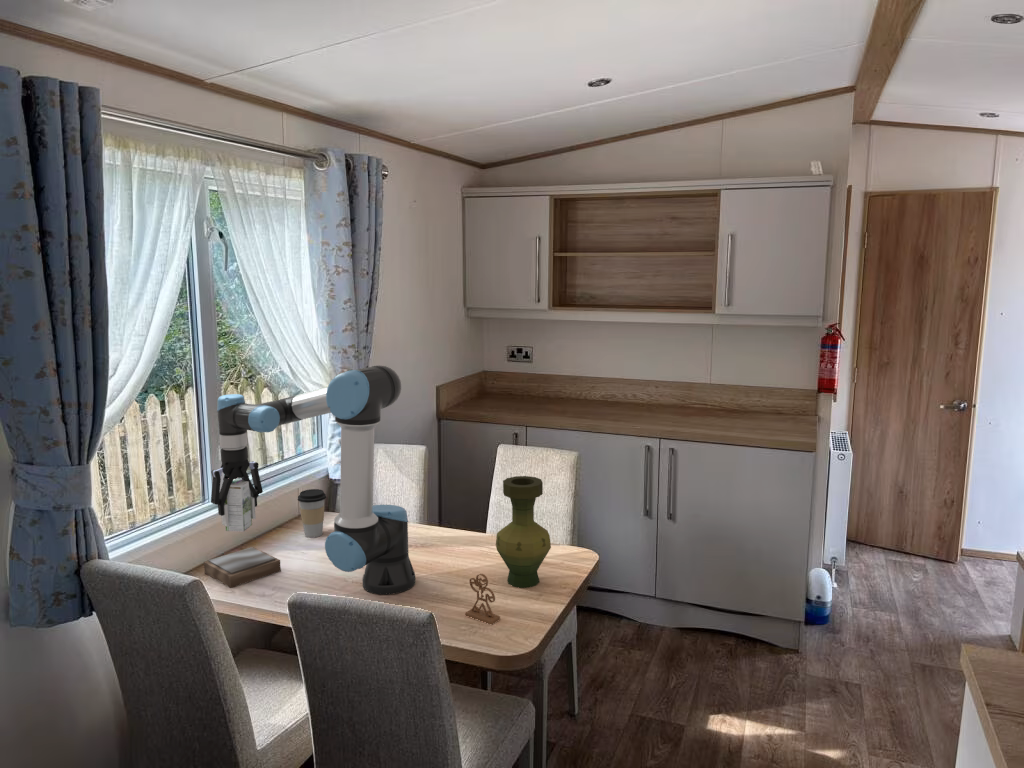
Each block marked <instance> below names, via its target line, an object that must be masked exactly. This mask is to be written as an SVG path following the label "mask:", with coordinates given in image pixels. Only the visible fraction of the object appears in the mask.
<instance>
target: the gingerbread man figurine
mask: <svg viewBox="0 0 1024 768" xmlns="http://www.w3.org/2000/svg"><path fill="white" fill-rule="evenodd" d="M480 576H481V577H480ZM482 577H483V579H482ZM468 583H469V586H470V588H471V589H472V591H474V592H475V593H476V600H475V602H474V605H472V608H470V609H469V610H467V611H465V613H464V614H465V615H466V616H469V617H472V618H474V619H473V620H475V619H478V620H480V621H479V622H481V621H483V622H482V623H484V622H486V623H485V624H487V623H488V624H487V625H490V624H492V625H494V624H495V622H496V621H497V622H499V621H500V620H501V616H500V615H499V614H496V613H493V611H492V607H490V604H489V603H492V604H493V603H494V602H495V601H496V595H495V593H494V592H493V590H492V589H491V588H489V587H488V585H489V579H488V577H487V576H486V575H485V574H484V573H479V574H477V575H476V577H471V578H469V582H468ZM474 585H475V586H476V587H477V588H478V589H476V588H475V587H474ZM486 590H487V591H488V592H489V593H490V594H489V593H485V594H484V592H485V591H486ZM490 595H491V596H490ZM479 601H481V602H482V603H481V604H480V605H479V607H478V606H477V604H478V602H479ZM484 603H485V604H486V607H487V609H488V610H487V609H486V607H485V604H484ZM466 616H465V617H466ZM469 617H468V618H469ZM472 618H471V619H472ZM478 620H477V621H478ZM498 620H499V621H498ZM497 622H496V623H497ZM493 623H494V624H493Z"/></svg>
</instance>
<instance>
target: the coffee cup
mask: <svg viewBox="0 0 1024 768" xmlns="http://www.w3.org/2000/svg"><path fill="white" fill-rule="evenodd" d="M326 498H327V494H326V493H325V491H324V490H322V489H319V488H318V489H317V488H314V489H313V488H311V489H305V490H302V491H300V492H299V495H298V496H297V501H298V502H299V511H300V517H301V523H302V526H303V532H304V536H305V537H306V538H313V539H314V538H318V537H321V536H322V535H323V534H324V533H323V531H324V521H325V520H324V519H325V500H326Z"/></svg>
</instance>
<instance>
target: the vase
mask: <svg viewBox="0 0 1024 768" xmlns="http://www.w3.org/2000/svg"><path fill="white" fill-rule="evenodd" d="M543 486H544V485H543V480H542V479H541V478H538V477H536V476H530V475H529V476H528V475H520V476H519V475H516V476H511V477H507V478H506V479H504V480H503V481H502V493H503V496H504V497H507V498H509V500H510V502H511V506H512V507H511V509H512V511H511V516H512V517H511V522H509V523H507V525H505V526H504V527H503V528H501V529H500V530H499V531H497V532H496V538H495V539H496V540H495V547H496V551H497V553H498V554H499V555H500V558H501V559H502V561H503V562H504V563H505V565H506V567H507V569H508V570H509V572H508V576H507V580H506V581H507V584H508V585H509V586H511V585H512V586H511V587H513V588H518V587H519V588H518V589H528V588H533V587H536V586H538V584H539V583H540V578H539V574H538V570H539V569H540V566H541V565H542V563H543V562H544V560H545V559H546V557H547V555H548V553H549V552H550V551H551V548H552V546H551V545H552V544H551V537H550V533H549V531H548V530H547V529H546V528H544V527H543V526H542V525H540V524H538V523H537V522H536V521H535V517H534V515H535V513H534V512H535V511H534V509H535V503H536V499H537V498H539V497H540V496H542V495H543V492H544V491H543V490H544V488H543Z"/></svg>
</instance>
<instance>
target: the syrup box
mask: <svg viewBox="0 0 1024 768" xmlns="http://www.w3.org/2000/svg"><path fill="white" fill-rule="evenodd" d="M225 504H227V506H228V521H229V526H227V527H226V526H225V531H226V532H245V531H246V530H247V529H249V528H250V527H251V526H253V519H252V513H251V492H250V488H249V481H245V480H243V479H241V478H236V479H233V482H232V483H231V484H230V488H229V491H228V495H227V498H226V501H225Z"/></svg>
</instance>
